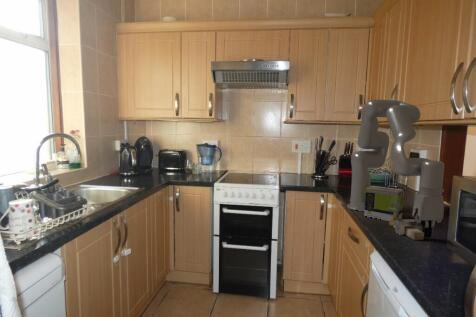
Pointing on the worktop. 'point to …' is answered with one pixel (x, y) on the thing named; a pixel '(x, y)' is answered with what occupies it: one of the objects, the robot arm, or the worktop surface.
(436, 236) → the worktop surface
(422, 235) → the pivot link
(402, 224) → the hook
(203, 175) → the worktop surface
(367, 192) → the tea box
